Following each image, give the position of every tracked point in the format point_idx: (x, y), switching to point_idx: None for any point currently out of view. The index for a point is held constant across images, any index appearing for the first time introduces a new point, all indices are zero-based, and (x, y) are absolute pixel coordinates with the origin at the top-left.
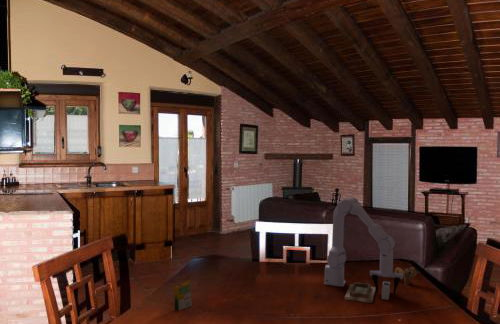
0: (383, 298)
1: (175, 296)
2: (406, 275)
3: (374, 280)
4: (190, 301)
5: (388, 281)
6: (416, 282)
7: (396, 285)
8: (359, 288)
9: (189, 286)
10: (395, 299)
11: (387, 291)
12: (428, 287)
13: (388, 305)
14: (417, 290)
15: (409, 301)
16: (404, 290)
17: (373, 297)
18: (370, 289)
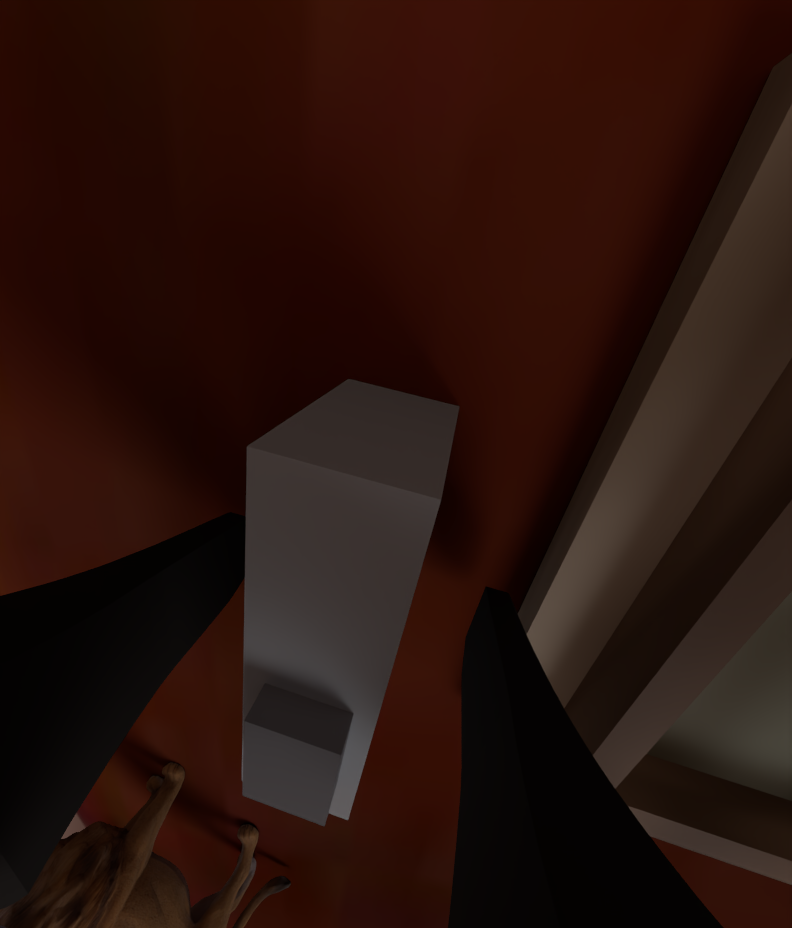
0: (426, 403)
1: None
2: (91, 881)
3: (660, 892)
4: None
5: (246, 796)
6: (114, 786)
7: (42, 593)
8: (786, 729)
9: None
10: (246, 408)
11: (309, 431)
12: None
13: (379, 5)
14: None
15: (67, 355)
16: (172, 670)
17: (609, 428)
18: (580, 686)
